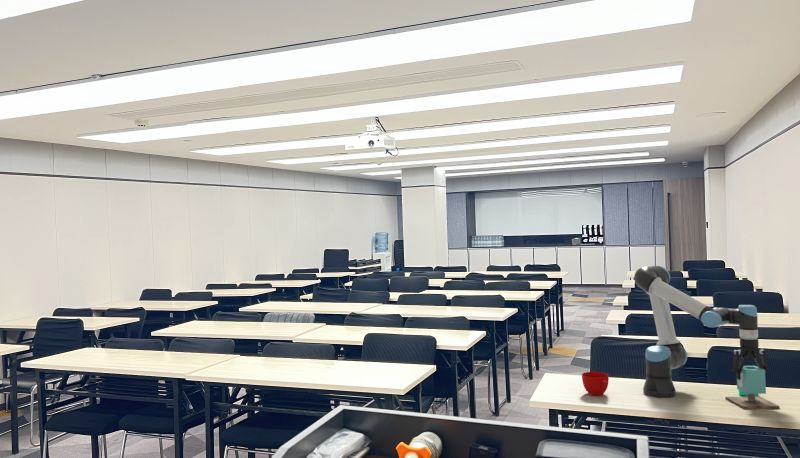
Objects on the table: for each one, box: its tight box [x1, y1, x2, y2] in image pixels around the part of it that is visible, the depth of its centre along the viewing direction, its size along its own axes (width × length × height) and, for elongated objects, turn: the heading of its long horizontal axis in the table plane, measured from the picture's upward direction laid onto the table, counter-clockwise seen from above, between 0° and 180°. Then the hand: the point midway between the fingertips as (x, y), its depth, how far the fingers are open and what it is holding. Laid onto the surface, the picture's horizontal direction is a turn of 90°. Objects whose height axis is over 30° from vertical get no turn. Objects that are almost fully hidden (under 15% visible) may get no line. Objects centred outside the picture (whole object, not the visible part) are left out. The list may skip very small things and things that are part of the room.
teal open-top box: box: [736, 365, 767, 395], centre depth 266 cm, size 8×8×11 cm
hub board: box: [724, 394, 781, 410], centre depth 266 cm, size 16×16×12 cm
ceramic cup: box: [581, 371, 610, 397], centre depth 288 cm, size 13×17×10 cm
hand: (751, 386), depth 266 cm, fingers closed on teal open-top box, 8 cm apart
